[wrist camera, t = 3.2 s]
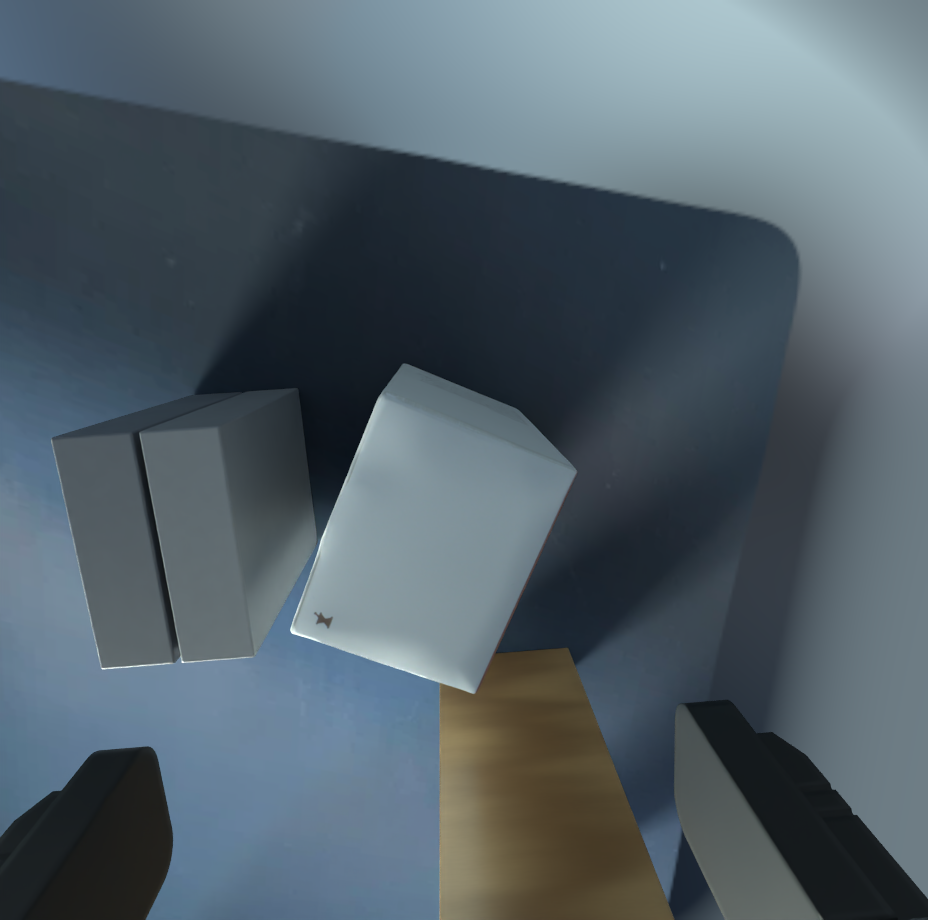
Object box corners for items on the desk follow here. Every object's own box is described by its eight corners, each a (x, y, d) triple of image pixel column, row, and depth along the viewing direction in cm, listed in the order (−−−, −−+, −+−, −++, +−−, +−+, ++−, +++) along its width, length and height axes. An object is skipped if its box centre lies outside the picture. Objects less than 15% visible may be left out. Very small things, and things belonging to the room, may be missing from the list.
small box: (461, 551, 32) (476, 703, 19) (345, 508, 31) (281, 637, 18) (523, 407, 30) (583, 469, 18) (403, 358, 30) (375, 387, 17)
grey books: (298, 387, 30) (219, 425, 19) (317, 543, 32) (255, 658, 21) (190, 395, 30) (49, 437, 19) (216, 550, 31) (100, 670, 21)
